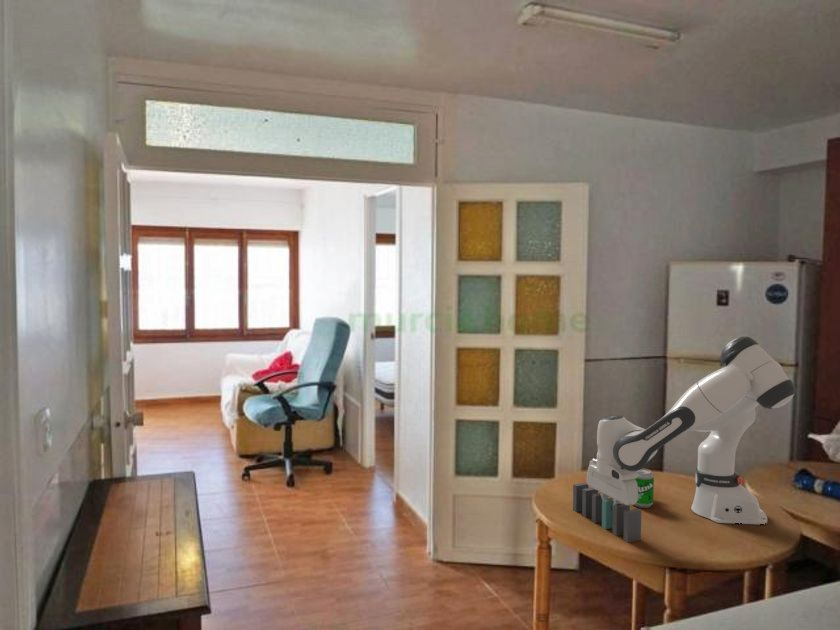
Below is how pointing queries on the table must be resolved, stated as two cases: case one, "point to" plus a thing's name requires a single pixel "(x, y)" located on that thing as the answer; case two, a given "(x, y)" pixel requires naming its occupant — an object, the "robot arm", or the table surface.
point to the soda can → (645, 488)
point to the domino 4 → (607, 513)
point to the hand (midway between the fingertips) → (610, 508)
